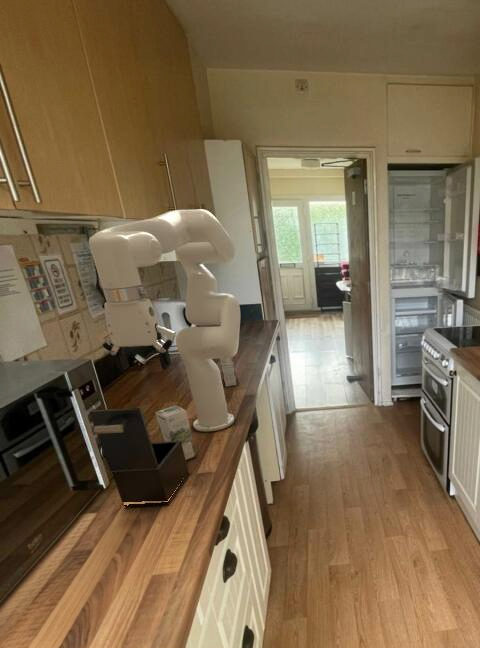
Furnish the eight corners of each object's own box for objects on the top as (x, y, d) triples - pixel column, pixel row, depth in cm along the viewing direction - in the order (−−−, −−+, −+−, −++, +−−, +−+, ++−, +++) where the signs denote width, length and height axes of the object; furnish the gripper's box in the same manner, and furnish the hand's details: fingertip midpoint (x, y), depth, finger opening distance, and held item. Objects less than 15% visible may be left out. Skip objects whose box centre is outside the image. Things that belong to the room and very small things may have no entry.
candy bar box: (223, 379, 180) (215, 340, 173) (235, 377, 182) (228, 339, 175) (224, 387, 171) (216, 347, 164) (237, 385, 172) (230, 345, 166)
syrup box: (186, 450, 123) (175, 404, 117) (197, 456, 120) (186, 409, 114) (167, 458, 119) (154, 411, 113) (177, 465, 116) (164, 416, 110)
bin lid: (91, 410, 88) (76, 421, 84) (141, 407, 89) (129, 418, 84) (112, 469, 94) (99, 482, 90) (158, 466, 95) (148, 479, 90)
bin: (149, 476, 111) (139, 443, 107) (189, 474, 111) (180, 440, 107) (124, 508, 98) (111, 472, 94) (168, 505, 99) (158, 469, 95)
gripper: (171, 290, 98) (188, 361, 105) (93, 293, 97) (116, 365, 104) (157, 296, 91) (177, 372, 99) (74, 299, 90) (100, 375, 98)
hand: (145, 368), depth 102 cm, fingers open, 9 cm apart
